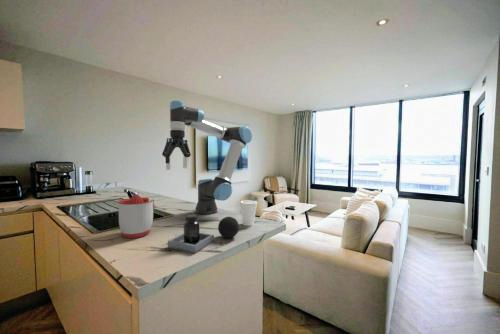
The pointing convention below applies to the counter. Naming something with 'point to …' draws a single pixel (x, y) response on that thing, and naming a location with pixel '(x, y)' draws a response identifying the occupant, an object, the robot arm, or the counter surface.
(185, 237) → the supplement bottle
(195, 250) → the tray
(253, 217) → the foam cup
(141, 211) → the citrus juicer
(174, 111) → the robot arm
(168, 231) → the counter surface
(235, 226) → the speaker
